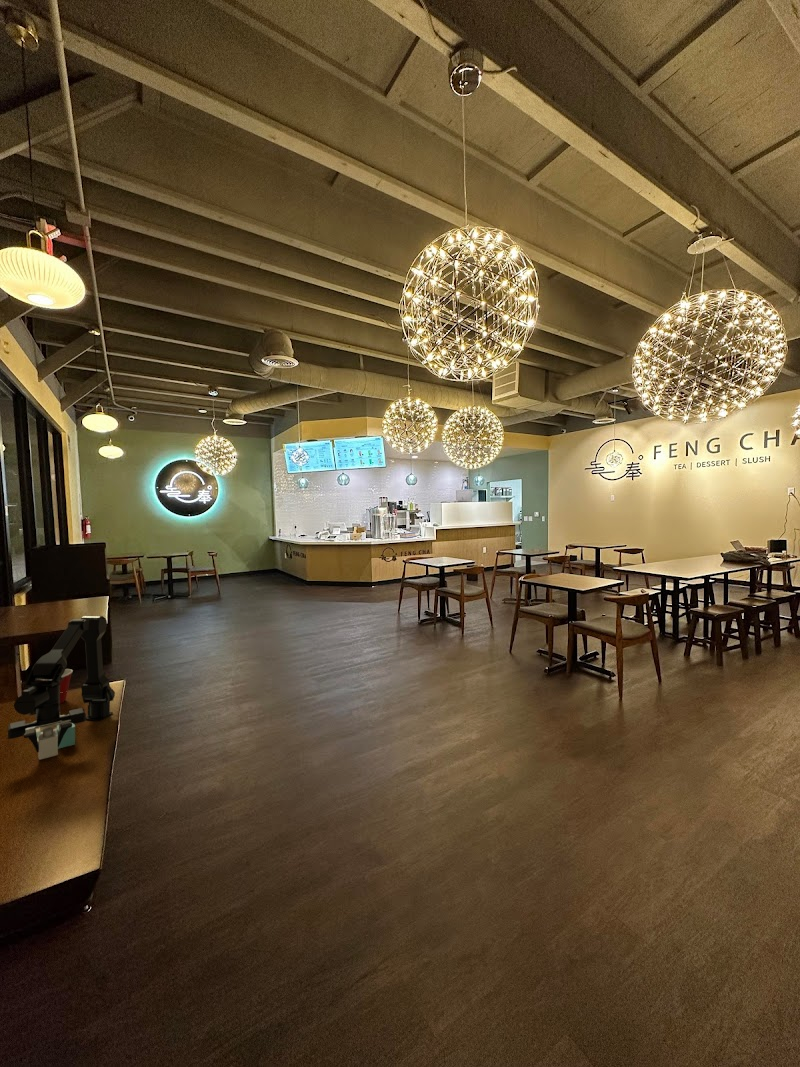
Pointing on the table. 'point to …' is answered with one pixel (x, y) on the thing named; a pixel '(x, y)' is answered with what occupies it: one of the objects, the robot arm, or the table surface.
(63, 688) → the plastic cup
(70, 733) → the teal plug
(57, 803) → the table surface
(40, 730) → the backplate with mounted blocks
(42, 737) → the grey plug
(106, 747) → the table surface
